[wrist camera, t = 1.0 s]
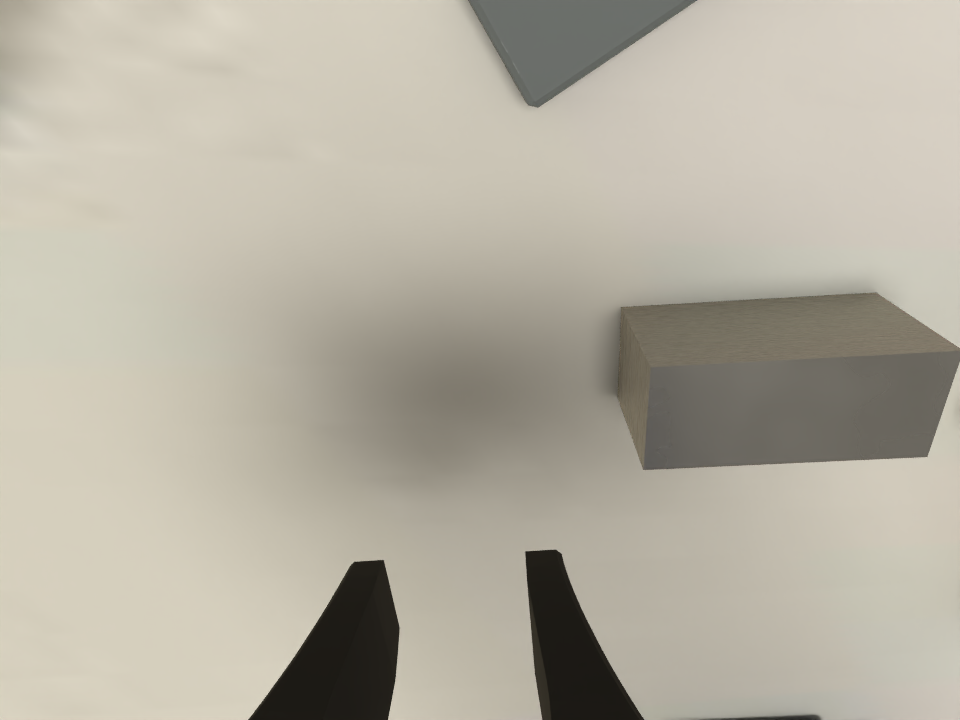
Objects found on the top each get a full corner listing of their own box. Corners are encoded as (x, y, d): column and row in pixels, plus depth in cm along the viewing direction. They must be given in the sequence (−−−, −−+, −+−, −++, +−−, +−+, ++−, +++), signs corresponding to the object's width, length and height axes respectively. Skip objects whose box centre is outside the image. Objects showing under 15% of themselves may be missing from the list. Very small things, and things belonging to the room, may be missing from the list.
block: (850, 382, 21) (927, 456, 17) (616, 394, 21) (643, 469, 18) (873, 290, 19) (963, 350, 16) (620, 305, 20) (650, 367, 16)
